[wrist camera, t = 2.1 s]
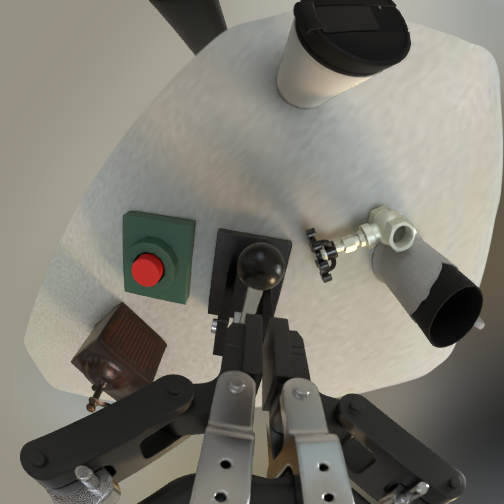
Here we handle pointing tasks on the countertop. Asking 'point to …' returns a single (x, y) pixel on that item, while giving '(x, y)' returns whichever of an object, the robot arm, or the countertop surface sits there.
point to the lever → (258, 274)
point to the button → (147, 269)
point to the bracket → (238, 283)
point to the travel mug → (339, 48)
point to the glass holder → (430, 290)
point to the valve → (364, 238)
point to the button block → (159, 253)
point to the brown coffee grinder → (119, 355)
